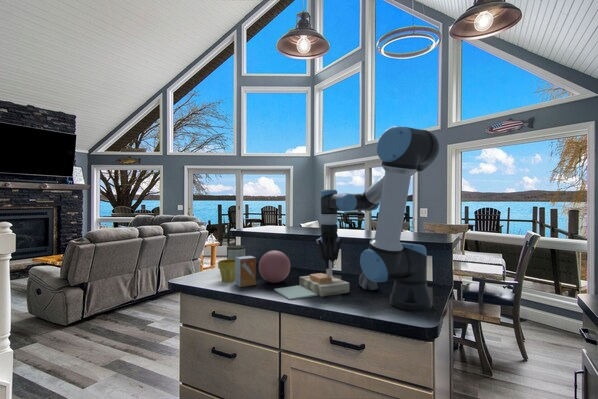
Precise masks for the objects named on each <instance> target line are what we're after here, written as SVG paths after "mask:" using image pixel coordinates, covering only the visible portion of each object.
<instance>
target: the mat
mask: <svg viewBox="0 0 598 399" xmlns="http://www.w3.org/2000/svg"><path fill="white" fill-rule="evenodd" d="M273 289H274V290H273V291H274V292H277V293H278V294H279V295H281V296H282V297H283V298H284V297H285V299H287V300H288V301H293V300H297V299H304V298H312V297H318V296H319V295H318V294H317V293H315V292H313V291H311V290H309V289H307V288H305V287H303V286H301V285H300V284H299V285H292V286H287V287H286V286H284V287H279V288H273Z"/></svg>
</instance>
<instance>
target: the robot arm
mask: <svg viewBox="0 0 598 399" xmlns="http://www.w3.org/2000/svg"><path fill="white" fill-rule="evenodd" d="M376 144H377V145H376V153H377V156H378V158H379V159H380V160H381V167H382V169H383V171H384V174H383V175H381V176H380V177H379V178H378V179H377V180H376V181H375V182H374V183H373V184H371V186H369V187H368V188H367V189H366V190H364V192H362V193H350V192H348V193H347V192H344V193H343V192H342V193H338V190H337V189H323V190H321V191H320V198H319V199H320V223H321V224H320V237H319V238H317V239H315V242H316V244H317V247H318V252H319V256H320V260H321V261H324V268H325V269H326V270H325V271H326V272H325V274H326V275H328V276H332V277H333V269H334V268H335V267H334V265H335V262H336V260H338V258H339V254H340V248H341V244H342V242H343V238H341V237H339V235H338V224H337V223H338V220H339V219H338V212H344V213H345V212H357V211H358V212H364V211H366V212H371V211H375V210H377V209H378V215H377V221H376V227H375V234H374V238H372V239H370V240H369V244H368V248H367V249H366V248H365V250H363V251H362V252H361V254H360V258H359V263H360V264H359V265H360V268H361V271H362V273H364V275H365V276H366V277H367V278H368V279H369V280H370V281H372V282H377V283H385V282H389V281H390V282H391V281H393V282H394V284H393V285H392V290H391V294H390V295H389V303H390V305H391V306H393V307H395V308H398V309H401V310H406V311H407V310H408V311H417V312H419V311H426V310H431V309H432V307H433V299H432V297H431V295H430V292H429V291H430V290H429V287H428V282H427V280H428V279H427V272H428V265H427V263H428V260H427V259H428V255H427V247H426V246H425V245H422V244H416V243H409V242H401V235H402V232H403V231H402V229H403V225H404V218H405V212H406V208H407V206H406V205H407V201H408V195H409V190H410V185H411V177H412V176H414V175H415V174H416V173H417V172H418V173H421V172H423V171H425V170H426V169H427V168H428V167H429V166H430V165H432V163H434V161H435V160H436V158H437V156H438V155H439V151H440V141H439V139H438V138H437V136H436V135H435V134H434V133H433V132H431V131H429V130H426V129H421V128H420V129H419V128H414V127H409V126H404V125H403V126H400V125H399V126H391V127H389V128H387V129H385V131H384V132H382V133H381V134H380V137H379V138H378V141H377V143H376Z"/></svg>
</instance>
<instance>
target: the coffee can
mask: <svg viewBox="0 0 598 399" xmlns="http://www.w3.org/2000/svg"><path fill="white" fill-rule="evenodd" d="M243 256H246V245H242V244H235V245H228V246H226V259H235V257H243Z"/></svg>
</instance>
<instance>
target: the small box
mask: <svg viewBox="0 0 598 399" xmlns="http://www.w3.org/2000/svg"><path fill="white" fill-rule="evenodd" d="M234 283H235V285H236V286H237V287H239V288H243V287H249V286H250V287H251V286H256V285H257V258H256V257H255V256H252V255H245V256H243V257H235V281H234Z"/></svg>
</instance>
